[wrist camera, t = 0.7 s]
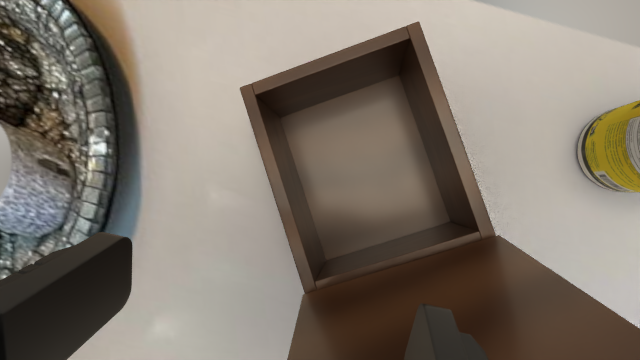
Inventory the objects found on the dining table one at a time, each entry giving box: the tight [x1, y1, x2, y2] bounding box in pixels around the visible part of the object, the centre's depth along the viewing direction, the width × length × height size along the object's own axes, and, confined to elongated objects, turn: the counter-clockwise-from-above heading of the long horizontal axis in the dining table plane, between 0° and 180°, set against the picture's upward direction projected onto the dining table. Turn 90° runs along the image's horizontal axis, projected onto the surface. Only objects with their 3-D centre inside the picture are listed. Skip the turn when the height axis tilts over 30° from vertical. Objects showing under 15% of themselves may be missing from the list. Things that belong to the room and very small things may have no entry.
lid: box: [287, 235, 640, 360], centre depth 14 cm, size 14×12×1 cm
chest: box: [240, 22, 496, 294], centre depth 26 cm, size 14×12×8 cm
